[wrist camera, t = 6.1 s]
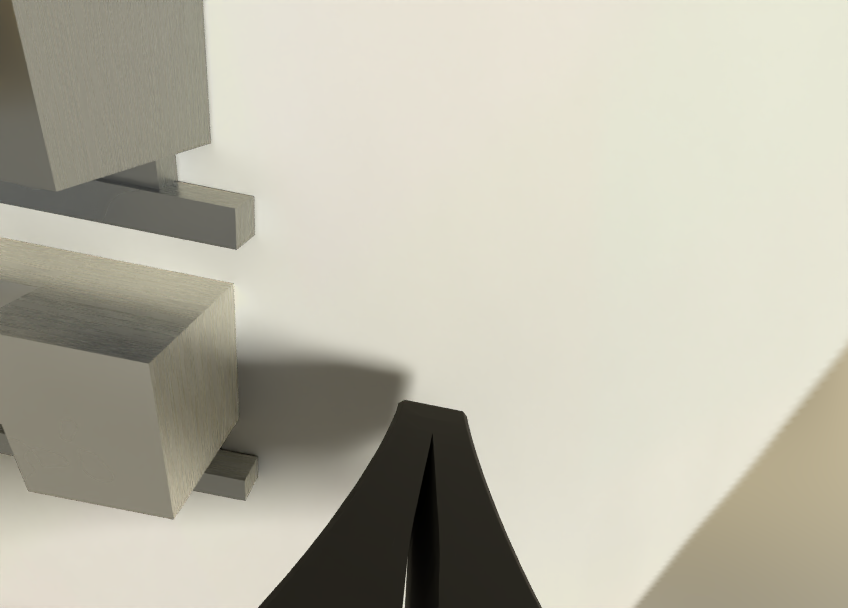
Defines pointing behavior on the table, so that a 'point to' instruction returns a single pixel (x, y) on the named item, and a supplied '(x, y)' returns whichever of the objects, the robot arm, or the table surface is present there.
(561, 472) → the table surface
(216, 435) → the grey notched block
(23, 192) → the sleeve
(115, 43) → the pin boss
